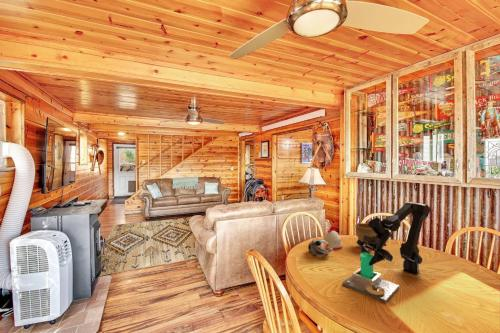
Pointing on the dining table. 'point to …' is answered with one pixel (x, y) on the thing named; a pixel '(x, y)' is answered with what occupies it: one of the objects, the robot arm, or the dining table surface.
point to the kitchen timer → (333, 238)
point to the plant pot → (364, 231)
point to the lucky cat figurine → (319, 248)
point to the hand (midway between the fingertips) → (364, 262)
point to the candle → (366, 265)
